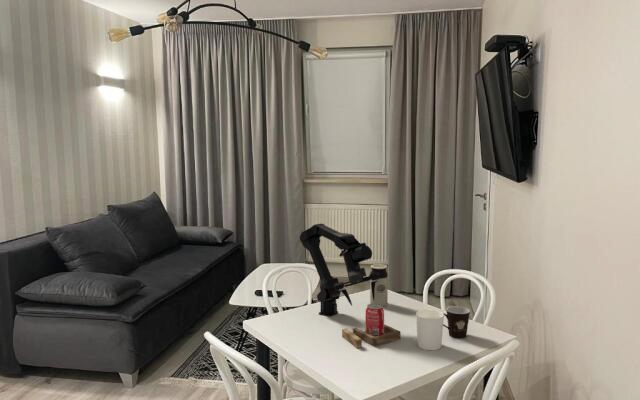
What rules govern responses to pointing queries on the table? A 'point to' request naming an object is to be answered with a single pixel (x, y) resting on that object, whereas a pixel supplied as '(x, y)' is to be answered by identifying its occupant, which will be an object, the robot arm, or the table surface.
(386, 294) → the travel mug
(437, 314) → the candle holder
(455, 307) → the coffee mug
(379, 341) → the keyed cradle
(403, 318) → the table surface
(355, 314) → the table surface
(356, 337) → the door edge rail
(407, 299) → the table surface
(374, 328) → the soda can
